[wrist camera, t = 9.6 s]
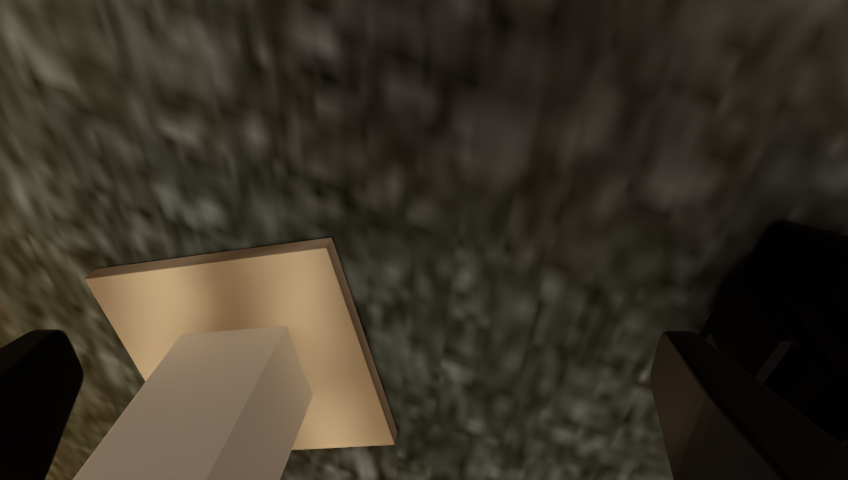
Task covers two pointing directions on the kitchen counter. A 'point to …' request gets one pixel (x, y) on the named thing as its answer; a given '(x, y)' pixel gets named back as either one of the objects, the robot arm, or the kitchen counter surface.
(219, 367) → the beige upright block
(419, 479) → the kitchen counter surface
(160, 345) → the coaster
